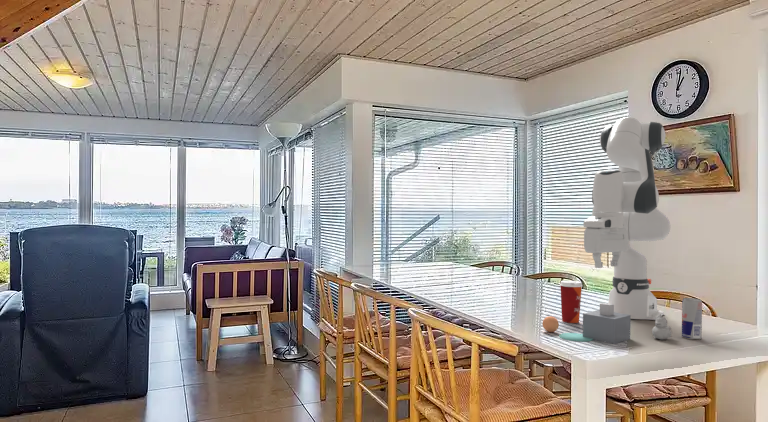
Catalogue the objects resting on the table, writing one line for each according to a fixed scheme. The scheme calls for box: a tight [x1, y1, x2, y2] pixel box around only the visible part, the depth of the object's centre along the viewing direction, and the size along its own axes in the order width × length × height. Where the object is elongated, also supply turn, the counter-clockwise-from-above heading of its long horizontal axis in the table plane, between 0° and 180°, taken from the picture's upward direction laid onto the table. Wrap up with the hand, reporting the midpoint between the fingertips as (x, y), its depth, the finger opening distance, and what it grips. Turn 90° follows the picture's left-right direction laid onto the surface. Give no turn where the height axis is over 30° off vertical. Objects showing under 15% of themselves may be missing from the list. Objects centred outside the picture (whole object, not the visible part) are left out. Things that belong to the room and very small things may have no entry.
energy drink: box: [681, 297, 703, 340], centre depth 165 cm, size 5×5×12 cm
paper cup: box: [559, 280, 583, 324], centre depth 187 cm, size 8×8×14 cm
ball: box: [541, 315, 560, 333], centre depth 170 cm, size 5×5×5 cm
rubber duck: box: [651, 314, 672, 341], centre depth 163 cm, size 5×7×8 cm
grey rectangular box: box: [582, 302, 632, 345], centre depth 163 cm, size 10×10×10 cm
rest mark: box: [558, 332, 595, 343], centre depth 163 cm, size 10×10×1 cm
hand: (606, 267), depth 163 cm, fingers open, 8 cm apart
